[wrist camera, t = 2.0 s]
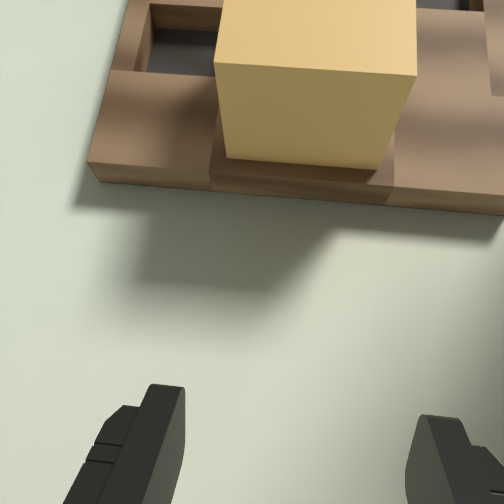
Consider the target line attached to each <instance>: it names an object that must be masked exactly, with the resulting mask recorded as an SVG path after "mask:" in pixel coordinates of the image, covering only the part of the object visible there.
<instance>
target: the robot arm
mask: <svg viewBox="0 0 504 504" xmlns="http://www.w3.org/2000/svg"><path fill="white" fill-rule="evenodd" d="M184 447H185V389H184V387H177V386H168V385H159V384H151V385H150V386H149V387H148V389H147V392H146V394H145V396H144V399H143V401H142V403H141V405H140V407H135V406H127V405H123V406H122V407H121V408H119V409H118V410H117V411H116V412H115V413H114V414H113V415H112V416H111V417H109V418H108V419H107V420H106V421H105V422H104V424H103V426H102V428H101V430H100V432H99V434H98V436H97V438H96V440H95V443H94V446H92V448H91V450H90V452H89V454H88V456H87V457H86V461H85V463H83V465H82V467H81V469H80V471H79V473H78V475H77V477H76V479H75V481H74V483H73V485H72V487H71V489H70V491H69V493H68V494H67V496H66V498H65V500H64V502H63V504H171V501H172V498H173V494H174V491H175V487H176V484H177V480H178V476H179V473H180V469H181V465H182V461H183V455H184ZM405 489H406V496H407V501H408V504H504V467H503V466H502V465H501V464H500V462H499V461H498V460H497V459H496V458H495V457H494V456H493V455H492V454H491V453H490V452H489V451H488V449H487V448H486V447H480V446H471V443H470V441H469V439H468V436H467V434H466V431H465V429H464V427H463V424H462V422H461V421H460V420H459V419H458V418H451V417H442V416H433V415H424V414H422V415H421V416H420V417H419V419H418V422H417V426H416V430H415V434H414V437H413V441H412V445H411V449H410V453H409V457H408V460H407V464H406V470H405Z"/></svg>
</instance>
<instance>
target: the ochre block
mask: <svg viewBox="0 0 504 504" xmlns="http://www.w3.org/2000/svg"><path fill="white" fill-rule="evenodd" d="M214 69H215V77H216V84H217V91H218V98H219V105H220V112H221V120H222V127H223V134H224V141H225V148H226V155H227V158H230V159H243V160H256V161H268V162H281V163H294V164H306V165H319V166H332V167H344V168H357V169H369V170H378V167H379V165H380V162H381V160H382V158H383V155H384V153H385V151H386V148H387V146H388V144H389V141H390V139H391V136H392V134H393V132H394V129H395V127H396V125H397V122H398V120H399V118H400V115H401V113H402V110H403V108H404V106H405V103H406V101H407V99H408V96H409V94H410V92H411V89H412V87H413V85H414V82H415V80H416V77H417V34H416V0H224V3H223V9H222V15H221V21H220V27H219V33H218V39H217V44H216V50H215V56H214Z"/></svg>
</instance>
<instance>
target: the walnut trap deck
mask: <svg viewBox="0 0 504 504" xmlns="http://www.w3.org/2000/svg"><path fill="white" fill-rule="evenodd" d="M223 3H224V0H129V2H128V6H127V10H126V14H125V17H124V21H123V25H122V29H121V33H120V36H119V40H118V44H117V48H116V52H115V55H114V59H113V63H112V67H111V70H110V74H109V78H108V82H107V86H106V89H105V93H104V97H103V101H102V104H101V108H100V112H99V116H98V120H97V123H96V127H95V131H94V135H93V138H92V142H91V146H90V150H89V154H88V157H87V161H86V162H87V163H88V165H89V166H90V168H91V169H92V171H93V172H94V174H95V175H96V177H97V178H98V180H99V181H100V182H109V183H121V184H132V185H144V186H156V187H168V188H180V189H192V190H204V191H216V192H228V193H240V194H252V195H264V196H276V197H288V198H300V199H312V200H324V201H336V202H348V203H360V204H372V205H384V206H396V207H408V208H420V209H432V210H444V211H456V212H468V213H480V214H492V215H503V216H504V0H416V34H417V77H416V80H415V82H414V85H413V87H412V89H411V92H410V94H409V96H408V99H407V101H406V103H405V106H404V108H403V110H402V113H401V115H400V118H399V120H398V122H397V125H396V127H395V129H394V132H393V134H392V136H391V139H390V141H389V144H388V146H387V148H386V151H385V153H384V155H383V158H382V160H381V162H380V165H379V167H378V170H369V169H357V168H344V167H332V166H319V165H306V164H294V163H281V162H268V161H256V160H243V159H230V158H227V155H226V148H225V141H224V134H223V127H222V120H221V112H220V105H219V98H218V91H217V84H216V77H215V69H214V56H215V50H216V44H217V39H218V33H219V27H220V21H221V15H222V9H223Z"/></svg>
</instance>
